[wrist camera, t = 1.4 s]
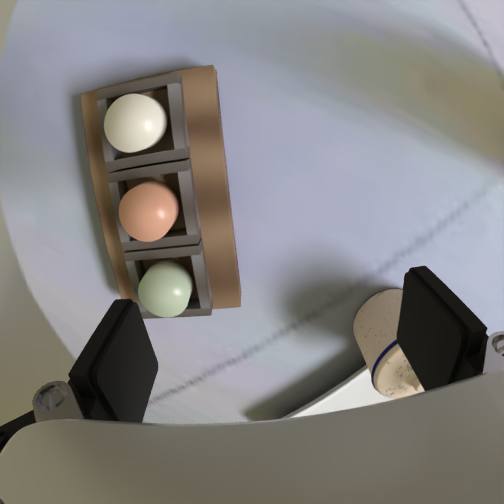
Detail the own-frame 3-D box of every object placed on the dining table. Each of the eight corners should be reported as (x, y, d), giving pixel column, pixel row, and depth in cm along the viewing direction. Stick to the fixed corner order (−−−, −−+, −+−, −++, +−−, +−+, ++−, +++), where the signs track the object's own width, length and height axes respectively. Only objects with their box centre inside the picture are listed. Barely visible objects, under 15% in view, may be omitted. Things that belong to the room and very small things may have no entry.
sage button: (141, 261, 27) (132, 273, 25) (188, 257, 27) (183, 269, 25) (151, 304, 29) (145, 318, 27) (196, 301, 29) (192, 316, 27)
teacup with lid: (344, 351, 37) (369, 423, 26) (357, 286, 34) (396, 355, 23) (425, 343, 37) (464, 403, 26) (444, 283, 34) (497, 338, 23)
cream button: (113, 102, 22) (101, 101, 20) (164, 91, 22) (156, 88, 20) (120, 153, 24) (108, 157, 21) (170, 144, 24) (162, 146, 21)
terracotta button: (124, 184, 25) (113, 190, 22) (175, 176, 25) (167, 182, 22) (134, 234, 26) (125, 244, 24) (183, 228, 26) (177, 238, 24)
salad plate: (385, 333, 36) (394, 350, 33) (438, 397, 42) (446, 412, 39) (258, 416, 42) (259, 434, 38) (337, 459, 48) (340, 473, 45)
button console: (94, 96, 25) (69, 93, 21) (216, 70, 25) (209, 60, 21) (134, 299, 34) (119, 324, 29) (241, 291, 34) (240, 318, 29)
